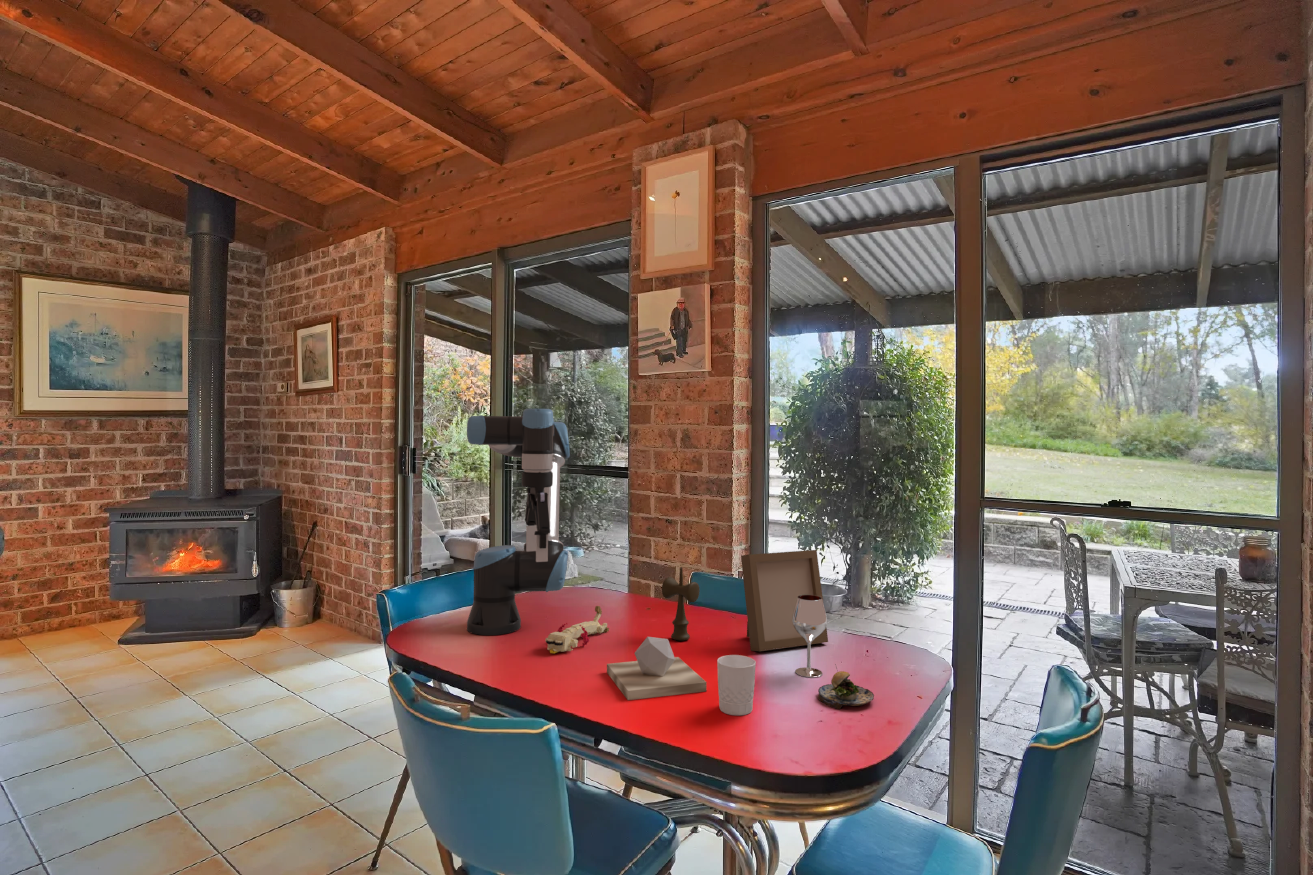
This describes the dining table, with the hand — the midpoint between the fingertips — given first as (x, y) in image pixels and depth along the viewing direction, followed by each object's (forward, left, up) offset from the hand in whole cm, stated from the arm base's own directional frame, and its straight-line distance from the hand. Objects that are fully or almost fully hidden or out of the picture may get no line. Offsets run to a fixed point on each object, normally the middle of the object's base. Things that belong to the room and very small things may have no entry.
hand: (536, 556), depth 172 cm
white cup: (+43, +35, -26) cm, 61 cm away
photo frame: (+4, +66, -26) cm, 71 cm away
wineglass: (+28, +61, -26) cm, 72 cm away
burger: (+45, +60, -26) cm, 79 cm away
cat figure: (-11, +13, -26) cm, 31 cm away
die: (+23, +24, -24) cm, 41 cm away
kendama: (-6, +41, -26) cm, 49 cm away
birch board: (+23, +24, -26) cm, 42 cm away
